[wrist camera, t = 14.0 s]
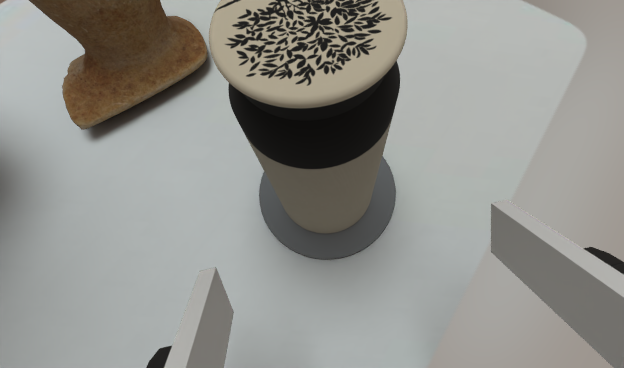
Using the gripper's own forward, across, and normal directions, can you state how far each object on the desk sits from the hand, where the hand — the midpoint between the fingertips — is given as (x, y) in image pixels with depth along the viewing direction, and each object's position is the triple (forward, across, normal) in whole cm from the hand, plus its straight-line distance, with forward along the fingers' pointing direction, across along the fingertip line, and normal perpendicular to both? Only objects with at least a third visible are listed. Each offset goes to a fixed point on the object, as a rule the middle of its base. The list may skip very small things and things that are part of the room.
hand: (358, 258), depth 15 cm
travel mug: (+14, 0, -2) cm, 14 cm away
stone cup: (+28, -17, +11) cm, 34 cm away
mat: (+14, 0, -2) cm, 14 cm away
